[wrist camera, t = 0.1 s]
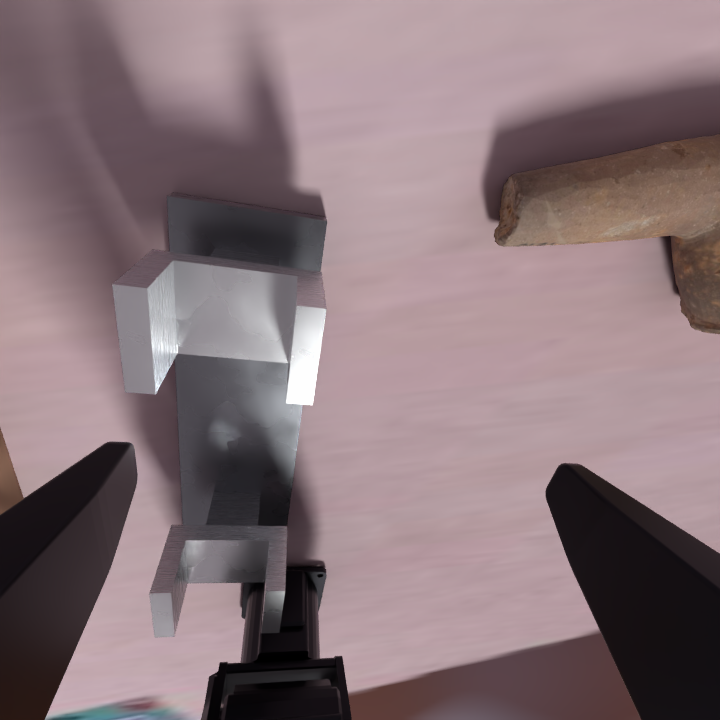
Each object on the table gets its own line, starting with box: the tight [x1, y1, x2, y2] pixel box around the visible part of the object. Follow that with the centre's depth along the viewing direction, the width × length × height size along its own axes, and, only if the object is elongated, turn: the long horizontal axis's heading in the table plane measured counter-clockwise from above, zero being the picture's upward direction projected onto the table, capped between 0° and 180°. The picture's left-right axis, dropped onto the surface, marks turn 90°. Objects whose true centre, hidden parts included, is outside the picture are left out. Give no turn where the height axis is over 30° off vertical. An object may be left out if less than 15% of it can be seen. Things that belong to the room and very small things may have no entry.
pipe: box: [494, 134, 720, 334], centre depth 21 cm, size 6×17×10 cm
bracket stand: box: [112, 193, 327, 637], centre depth 21 cm, size 23×7×8 cm, turn 170°
